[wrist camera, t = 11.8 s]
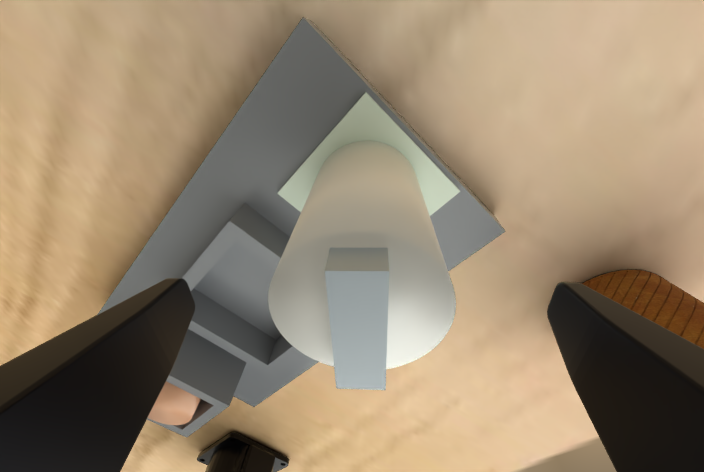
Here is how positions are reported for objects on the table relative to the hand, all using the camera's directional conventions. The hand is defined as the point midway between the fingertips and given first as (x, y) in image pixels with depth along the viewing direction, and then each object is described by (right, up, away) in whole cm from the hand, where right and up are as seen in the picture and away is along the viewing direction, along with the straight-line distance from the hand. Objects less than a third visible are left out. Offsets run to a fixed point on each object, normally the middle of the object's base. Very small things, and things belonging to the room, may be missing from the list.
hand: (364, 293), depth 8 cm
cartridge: (0, +3, +6) cm, 7 cm away
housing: (-5, 0, +10) cm, 11 cm away
